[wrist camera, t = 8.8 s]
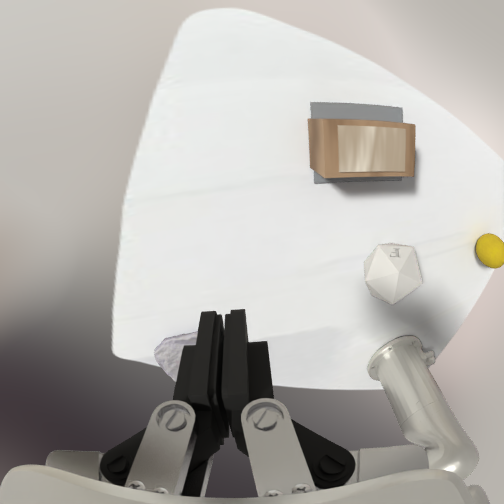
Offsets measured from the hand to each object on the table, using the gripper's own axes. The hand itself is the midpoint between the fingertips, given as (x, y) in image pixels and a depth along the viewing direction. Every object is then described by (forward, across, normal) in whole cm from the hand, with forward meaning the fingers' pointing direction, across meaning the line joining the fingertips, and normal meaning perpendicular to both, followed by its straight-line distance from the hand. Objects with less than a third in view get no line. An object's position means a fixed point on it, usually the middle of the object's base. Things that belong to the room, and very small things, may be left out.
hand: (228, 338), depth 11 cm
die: (+26, -20, +12) cm, 35 cm away
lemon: (+26, -42, +10) cm, 51 cm away
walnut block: (+22, -9, -5) cm, 24 cm away
